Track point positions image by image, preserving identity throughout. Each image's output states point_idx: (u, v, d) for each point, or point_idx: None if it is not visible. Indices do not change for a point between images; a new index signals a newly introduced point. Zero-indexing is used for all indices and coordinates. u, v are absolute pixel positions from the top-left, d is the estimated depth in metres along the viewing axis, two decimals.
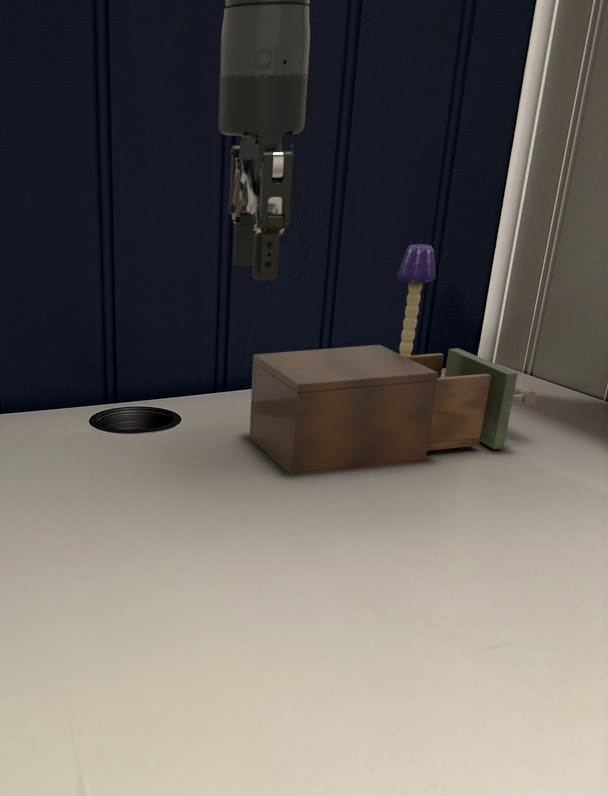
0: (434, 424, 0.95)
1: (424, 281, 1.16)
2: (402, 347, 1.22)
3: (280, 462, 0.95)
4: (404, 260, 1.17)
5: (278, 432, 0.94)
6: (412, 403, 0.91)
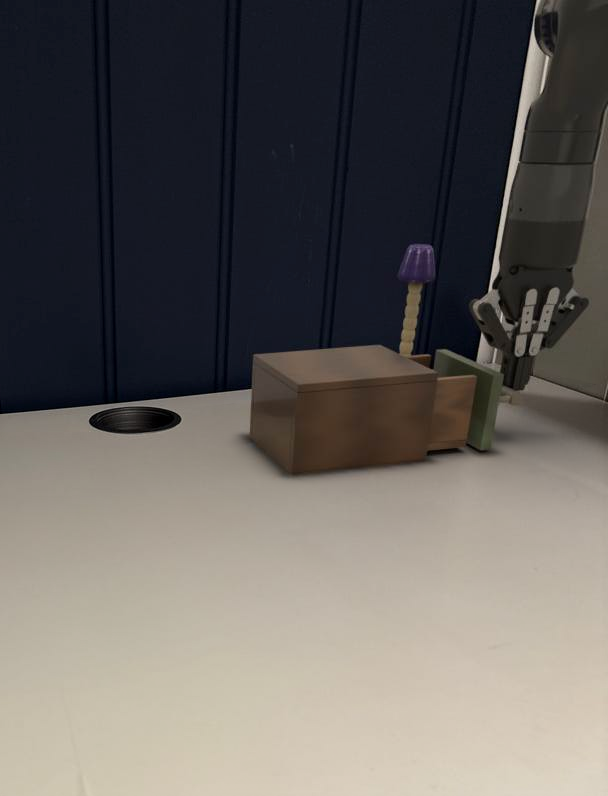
0: None
1: (424, 281, 1.16)
2: (402, 347, 1.22)
3: (280, 462, 0.95)
4: (404, 260, 1.17)
5: (278, 432, 0.94)
6: (412, 403, 0.91)
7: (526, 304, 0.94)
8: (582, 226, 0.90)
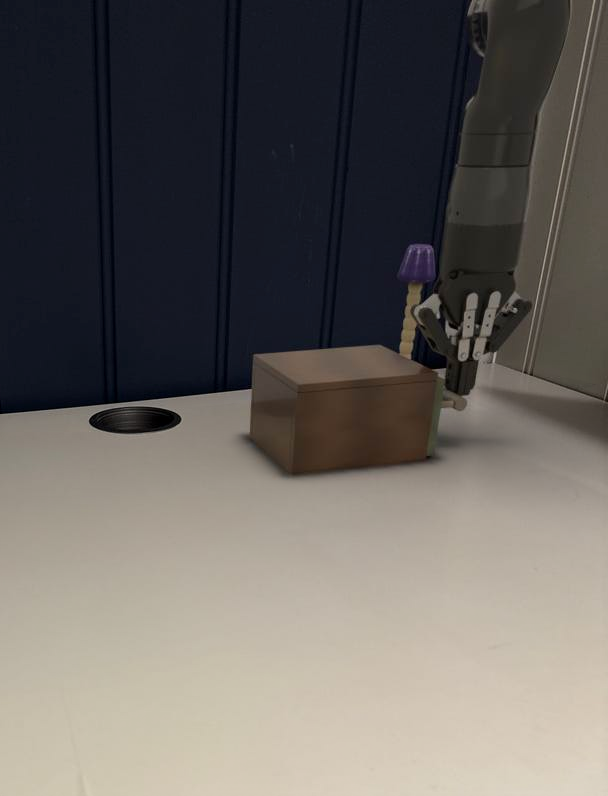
0: None
1: (424, 281, 1.16)
2: (402, 347, 1.22)
3: (280, 462, 0.95)
4: (404, 260, 1.17)
5: (278, 432, 0.94)
6: (412, 403, 0.91)
7: (467, 308, 0.92)
8: (520, 229, 0.88)
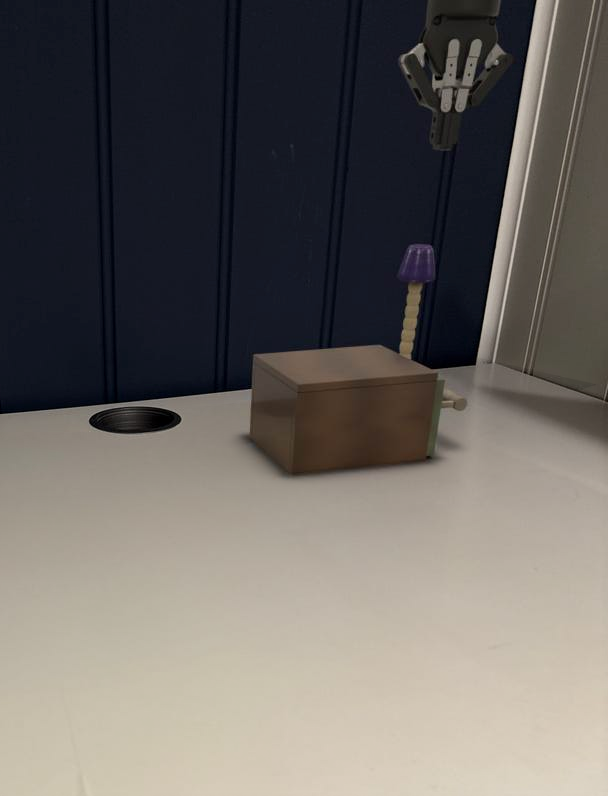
0: None
1: (424, 281, 1.16)
2: (402, 347, 1.22)
3: (280, 462, 0.95)
4: (404, 260, 1.17)
5: (278, 432, 0.94)
6: (412, 403, 0.91)
7: (449, 55, 1.01)
8: None
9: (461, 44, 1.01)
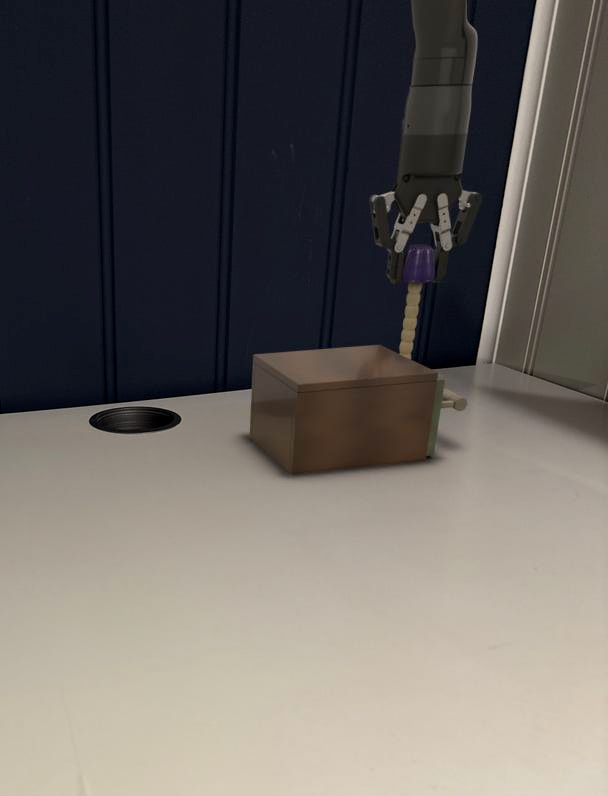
0: None
1: (424, 281, 1.16)
2: (402, 347, 1.22)
3: (280, 462, 0.95)
4: (404, 260, 1.17)
5: (278, 432, 0.94)
6: (412, 403, 0.91)
7: (417, 207, 1.12)
8: (459, 139, 1.08)
9: (429, 197, 1.13)
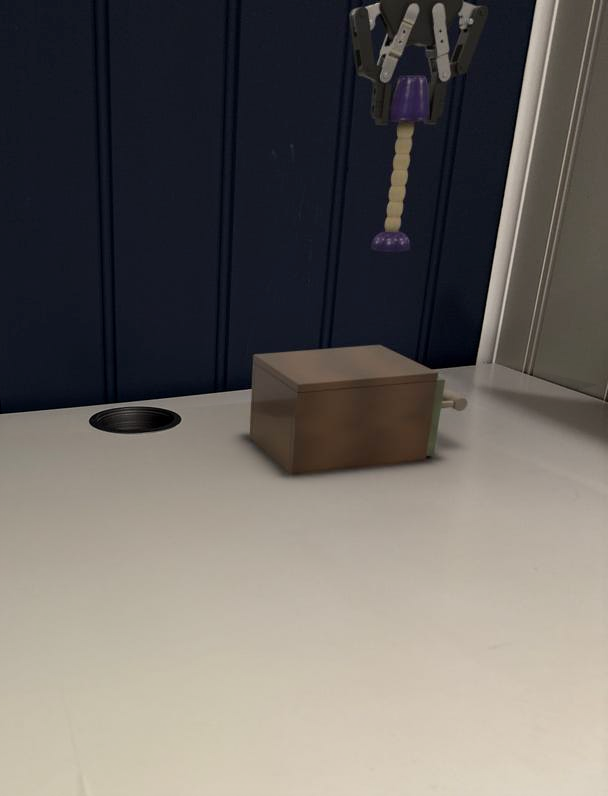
0: None
1: (416, 119, 0.95)
2: (390, 208, 1.01)
3: (280, 462, 0.95)
4: (392, 95, 0.96)
5: (278, 432, 0.94)
6: (412, 403, 0.91)
7: (408, 21, 0.91)
8: None
9: (422, 9, 0.92)
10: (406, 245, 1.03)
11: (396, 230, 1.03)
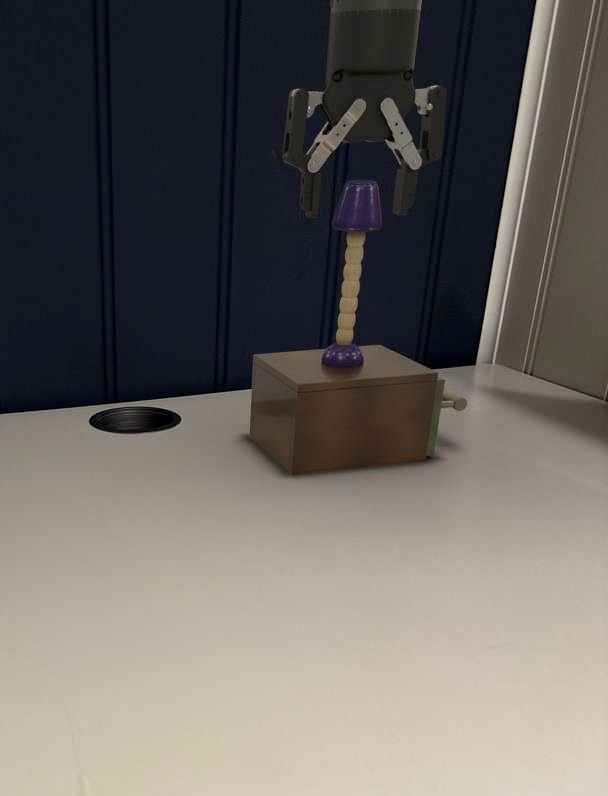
0: None
1: (366, 229, 0.86)
2: (341, 320, 0.92)
3: (280, 462, 0.95)
4: (340, 202, 0.86)
5: (278, 432, 0.94)
6: (412, 403, 0.91)
7: (354, 118, 0.82)
8: (408, 17, 0.77)
9: (369, 104, 0.82)
10: (359, 359, 0.93)
11: (348, 343, 0.93)
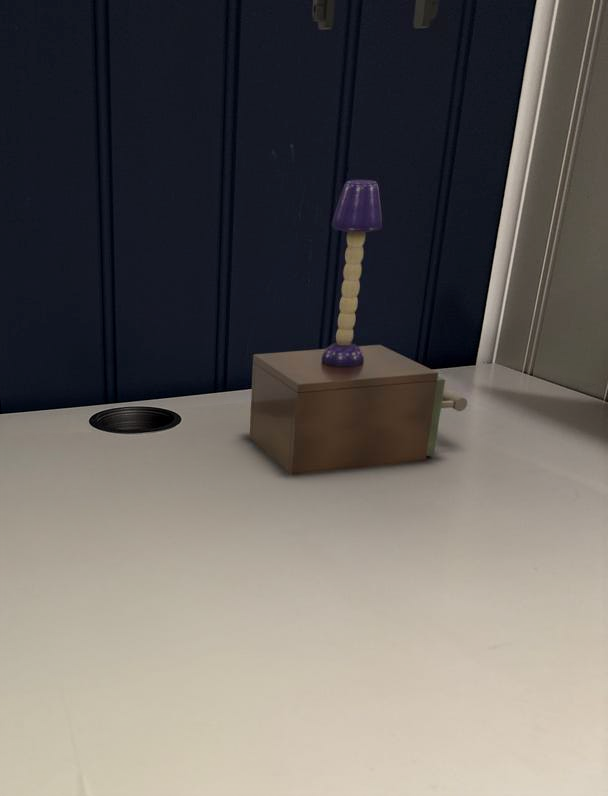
0: None
1: (366, 229, 0.86)
2: (341, 320, 0.92)
3: (280, 462, 0.95)
4: (340, 202, 0.86)
5: (278, 432, 0.94)
6: (412, 403, 0.91)
7: None
8: None
9: None
10: (359, 359, 0.93)
11: (348, 343, 0.93)
